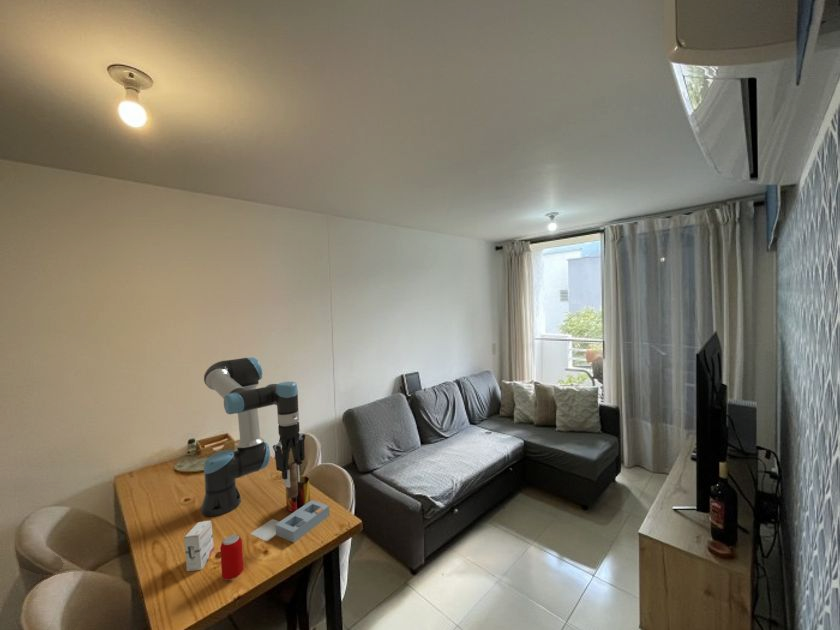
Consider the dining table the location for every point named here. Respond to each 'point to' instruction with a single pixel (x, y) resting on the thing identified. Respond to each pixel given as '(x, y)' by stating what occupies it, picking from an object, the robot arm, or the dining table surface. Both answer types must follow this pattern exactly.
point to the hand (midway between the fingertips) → (292, 483)
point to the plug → (292, 480)
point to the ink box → (198, 545)
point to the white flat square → (266, 530)
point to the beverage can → (231, 557)
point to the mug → (299, 495)
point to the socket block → (302, 521)
